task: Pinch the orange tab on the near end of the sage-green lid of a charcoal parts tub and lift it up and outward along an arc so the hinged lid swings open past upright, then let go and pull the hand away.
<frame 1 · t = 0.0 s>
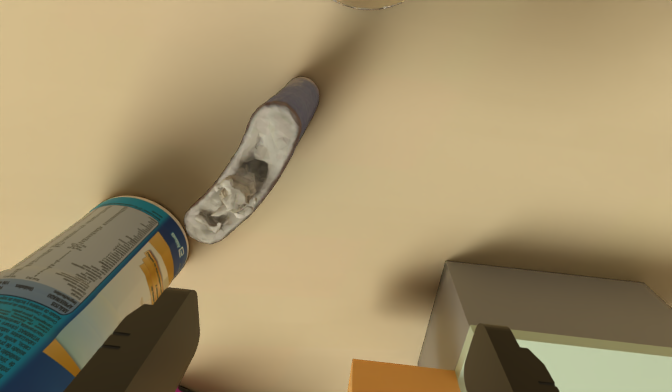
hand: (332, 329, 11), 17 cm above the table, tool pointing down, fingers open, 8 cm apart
beverage bottle: (144, 235, 31), on the table
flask: (277, 133, 26), on the table
tub: (521, 326, 32), on the table
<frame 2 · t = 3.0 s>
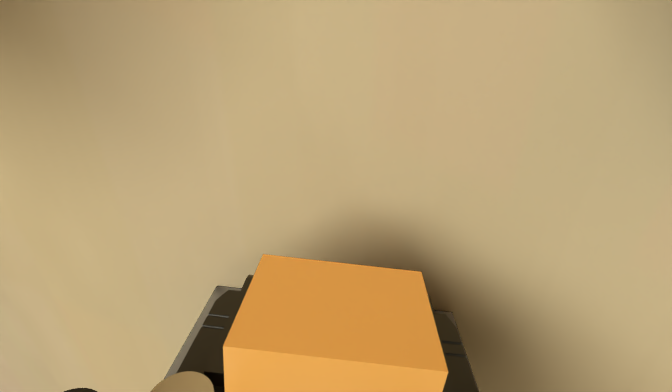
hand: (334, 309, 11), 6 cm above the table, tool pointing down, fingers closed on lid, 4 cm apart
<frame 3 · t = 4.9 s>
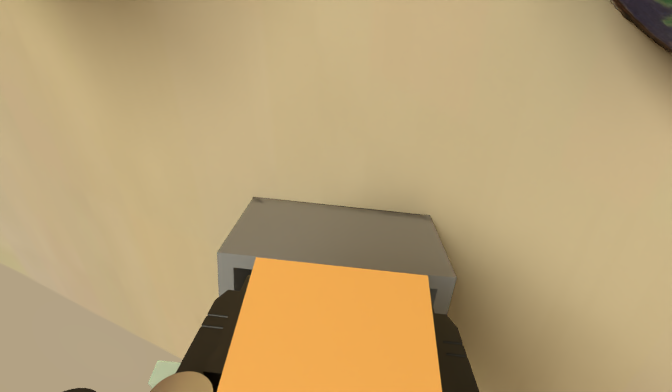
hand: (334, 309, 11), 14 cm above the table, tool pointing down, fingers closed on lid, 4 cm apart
tub: (331, 301, 28), on the table
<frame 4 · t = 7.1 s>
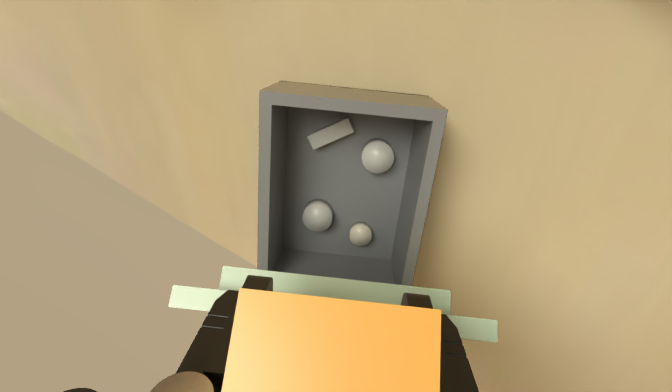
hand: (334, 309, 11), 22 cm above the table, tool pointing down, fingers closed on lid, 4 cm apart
lid: (330, 324, 18), point 17 cm above the table, hinge at 50.7°, touching gripper
tub: (344, 180, 33), on the table
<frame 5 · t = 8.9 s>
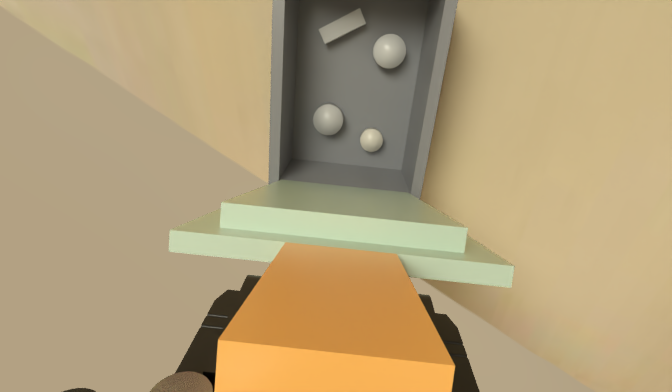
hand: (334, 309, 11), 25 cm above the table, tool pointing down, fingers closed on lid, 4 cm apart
lid: (340, 244, 18), point 18 cm above the table, hinge at 74.5°, touching gripper
tub: (354, 84, 33), on the table
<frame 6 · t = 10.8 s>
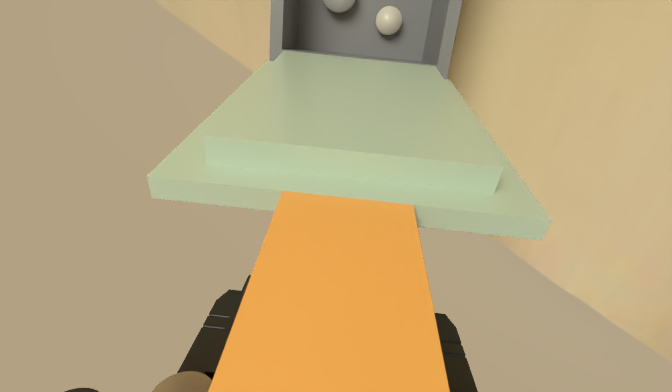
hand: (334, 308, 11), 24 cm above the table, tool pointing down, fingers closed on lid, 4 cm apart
lid: (349, 160, 15), point 18 cm above the table, hinge at 99.9°, touching gripper
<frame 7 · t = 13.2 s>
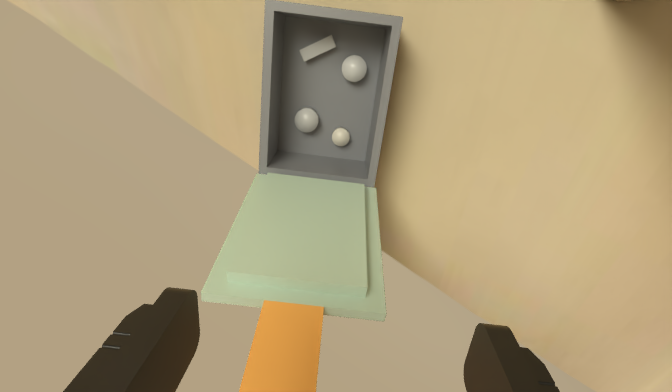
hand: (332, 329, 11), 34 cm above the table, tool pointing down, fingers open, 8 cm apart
lid: (301, 266, 29), point 18 cm above the table, hinge at 100.4°
tub: (328, 92, 41), on the table
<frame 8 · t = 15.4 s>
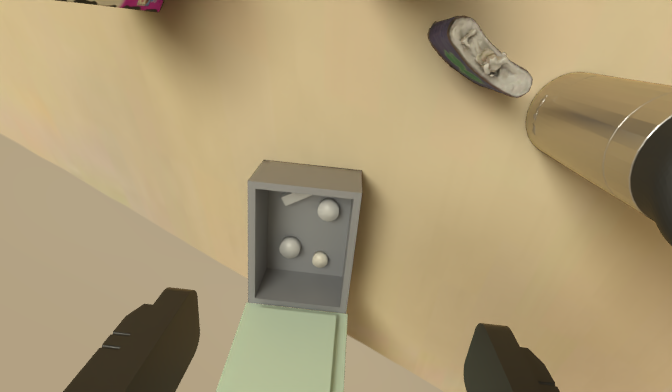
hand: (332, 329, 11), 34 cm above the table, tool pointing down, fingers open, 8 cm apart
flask: (461, 55, 39), on the table
tub: (308, 223, 48), on the table
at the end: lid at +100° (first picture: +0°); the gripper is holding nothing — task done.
